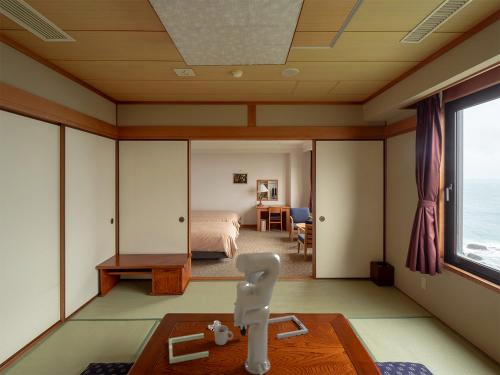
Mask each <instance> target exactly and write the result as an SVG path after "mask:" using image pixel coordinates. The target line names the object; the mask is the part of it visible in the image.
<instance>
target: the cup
mask: <svg viewBox="0 0 500 375" xmlns="http://www.w3.org/2000/svg"><path fill="white" fill-rule="evenodd" d="M213 330H214V331H213V332H214V341H215V344H216V345H218V346H223V345H225V344H227V342H228V341H229V340H230V341H231V340H232V339H233V337H234V333H233V331H232V330H229V328H228V326H227V325H223V324H220V325H219V326H217V327H215V328H213ZM229 334H230V335H231V337H229Z"/></svg>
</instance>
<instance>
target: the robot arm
mask: <svg viewBox="0 0 500 375" xmlns="http://www.w3.org/2000/svg"><path fill="white" fill-rule="evenodd" d="M235 268H236V270H237V271H238V273H239V272H240V273H243V274H244V280H242V281H239V282H237V283H236V299H235V302H234V303H233V304H234V311H233V326H234V327H238V328H239V329H240V330H239V333H240V334H239V335H241V337H246V334H248V335H247V358H246V360H245V362H244V368H245V370H246V371H247V372H249V373H250V374H253V375H264V374H265V373H268V372H269V371H270V369H271V362H270V360H269V359H268V327H269V324H268V320H269V319H270V313H271V312H270V311H271V310H270V307H269V305H270V303H271V299H272V296H273V292H274V288H275V285H276V284H277V282H278V280H279V277H280V275H281V270H282V260H281V258H280V255H279V254H278V253H275V252H271V251H269V252H267V251H266V252H265V251H264V252H246V253H240V254H238V255H237V256H236V259H235ZM250 284H251V285H250ZM248 327H249V328H248ZM247 328H248V332H247Z"/></svg>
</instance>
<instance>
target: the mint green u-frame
mask: <svg viewBox="0 0 500 375" xmlns="http://www.w3.org/2000/svg"><path fill="white" fill-rule="evenodd" d="M204 338H205V336H204V333H202V332H201V333H196V334H189V335H184V336H177V337H172V338H170V337H169V338H168V352H169V356H168V357H169V364H174V363H175V364H176V363H180V362H186V361H191V360H197V359H201V358H206V357H209V350H207V351H201V352H194V353H188V354H184V355H178V356H173V354H174V353H173V344H175V343H176V344H177V343H180V342H181V343H182V342H188V341H192V340H193V341H194V340H200V339H204Z"/></svg>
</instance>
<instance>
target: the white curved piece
mask: <svg viewBox="0 0 500 375" xmlns="http://www.w3.org/2000/svg"><path fill="white" fill-rule="evenodd" d="M219 325H222V324H221V321H219V320H214V321H213V324H208V325H207V328H208V329H209V330H210V331H212V329H213V331H212V332H214V328H215V327H217V326H219Z"/></svg>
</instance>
